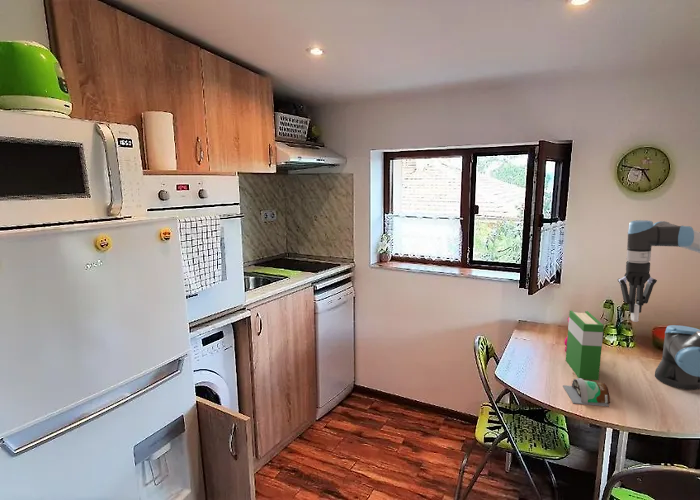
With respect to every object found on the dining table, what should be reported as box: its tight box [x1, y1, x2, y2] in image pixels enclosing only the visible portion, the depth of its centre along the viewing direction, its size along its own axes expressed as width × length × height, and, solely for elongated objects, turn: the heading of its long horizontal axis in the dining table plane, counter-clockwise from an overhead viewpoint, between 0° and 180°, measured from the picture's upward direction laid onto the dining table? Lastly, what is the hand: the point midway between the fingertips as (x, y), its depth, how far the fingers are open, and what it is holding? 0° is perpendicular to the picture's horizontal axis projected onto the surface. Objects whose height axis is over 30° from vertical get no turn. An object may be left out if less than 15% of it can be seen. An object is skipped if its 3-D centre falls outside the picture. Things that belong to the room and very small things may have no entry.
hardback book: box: [565, 310, 605, 381], centre depth 177 cm, size 18×7×24 cm, turn 169°
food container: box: [571, 377, 611, 404], centre depth 157 cm, size 12×6×10 cm
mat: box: [562, 384, 610, 407], centre depth 158 cm, size 12×13×1 cm
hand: (634, 320), depth 160 cm, fingers closed
